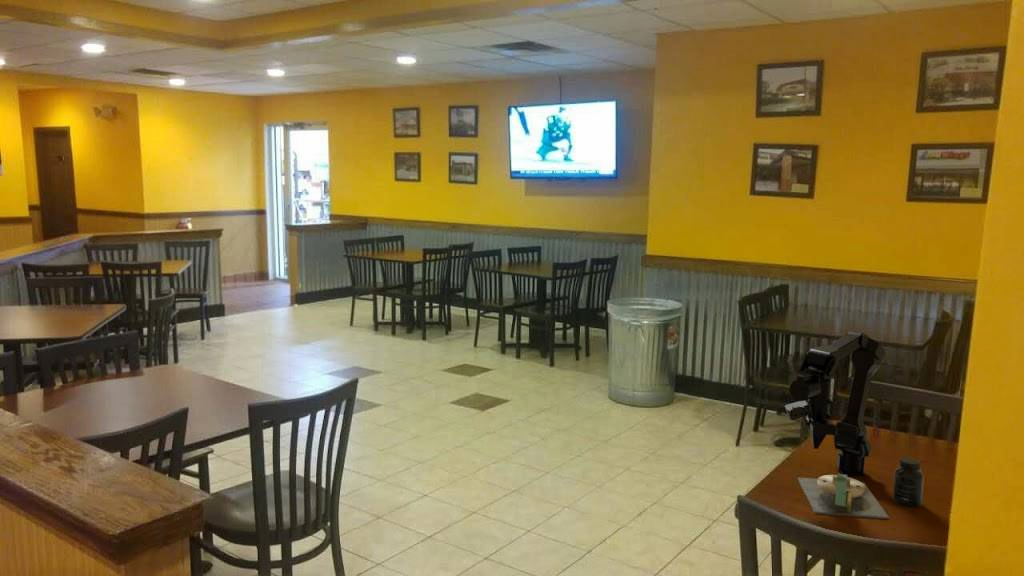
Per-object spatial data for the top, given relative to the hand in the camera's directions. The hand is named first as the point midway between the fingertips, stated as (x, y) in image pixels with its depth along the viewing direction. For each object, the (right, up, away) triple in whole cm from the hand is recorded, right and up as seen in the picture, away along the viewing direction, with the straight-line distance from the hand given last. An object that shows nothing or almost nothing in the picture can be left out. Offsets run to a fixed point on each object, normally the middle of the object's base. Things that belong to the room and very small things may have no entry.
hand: (815, 448), depth 204 cm
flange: (+4, -10, -7) cm, 13 cm away
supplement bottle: (+22, -13, -7) cm, 27 cm away
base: (+5, -13, -4) cm, 14 cm away
